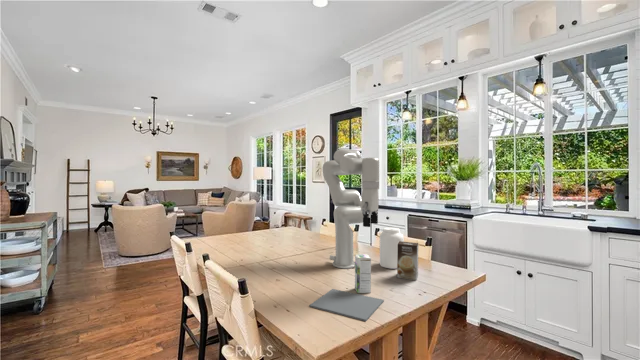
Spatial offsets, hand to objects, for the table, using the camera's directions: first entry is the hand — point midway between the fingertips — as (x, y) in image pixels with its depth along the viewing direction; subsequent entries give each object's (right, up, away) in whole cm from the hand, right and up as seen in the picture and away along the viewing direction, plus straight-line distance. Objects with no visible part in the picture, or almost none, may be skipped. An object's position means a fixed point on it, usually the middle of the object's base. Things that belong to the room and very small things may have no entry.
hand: (370, 225), depth 130 cm
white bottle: (+16, -26, +27) cm, 41 cm away
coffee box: (+19, -26, +9) cm, 34 cm away
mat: (-12, -26, -20) cm, 35 cm away
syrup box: (-5, -26, -7) cm, 28 cm away
